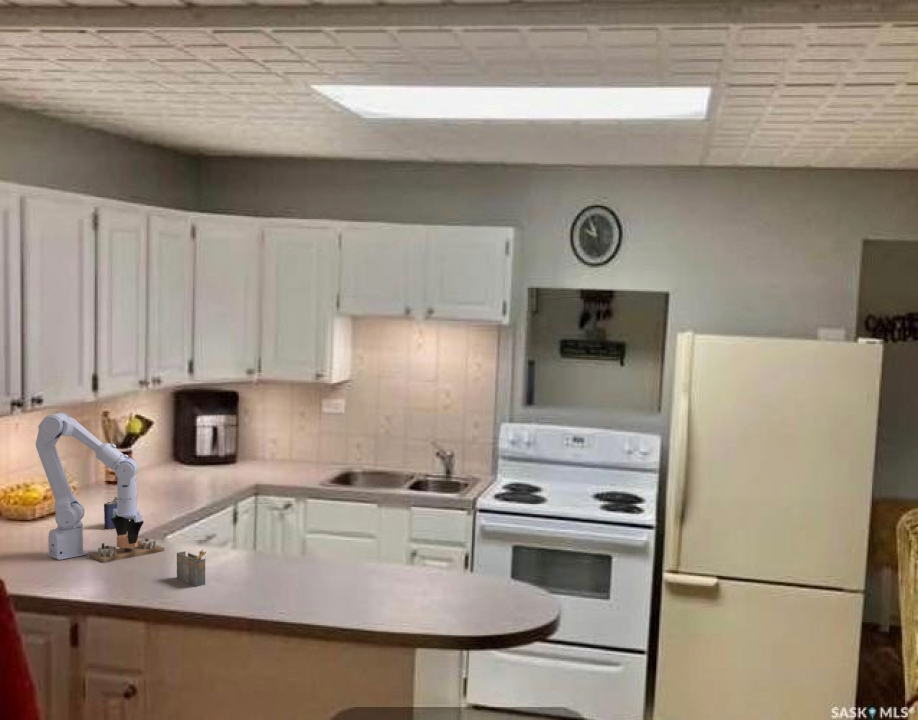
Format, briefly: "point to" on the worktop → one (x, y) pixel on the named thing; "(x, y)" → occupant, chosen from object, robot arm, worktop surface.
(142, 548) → the gear board
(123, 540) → the gear
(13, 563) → the worktop surface
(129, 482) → the robot arm
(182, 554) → the grey-brown boxy piece
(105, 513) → the flask
